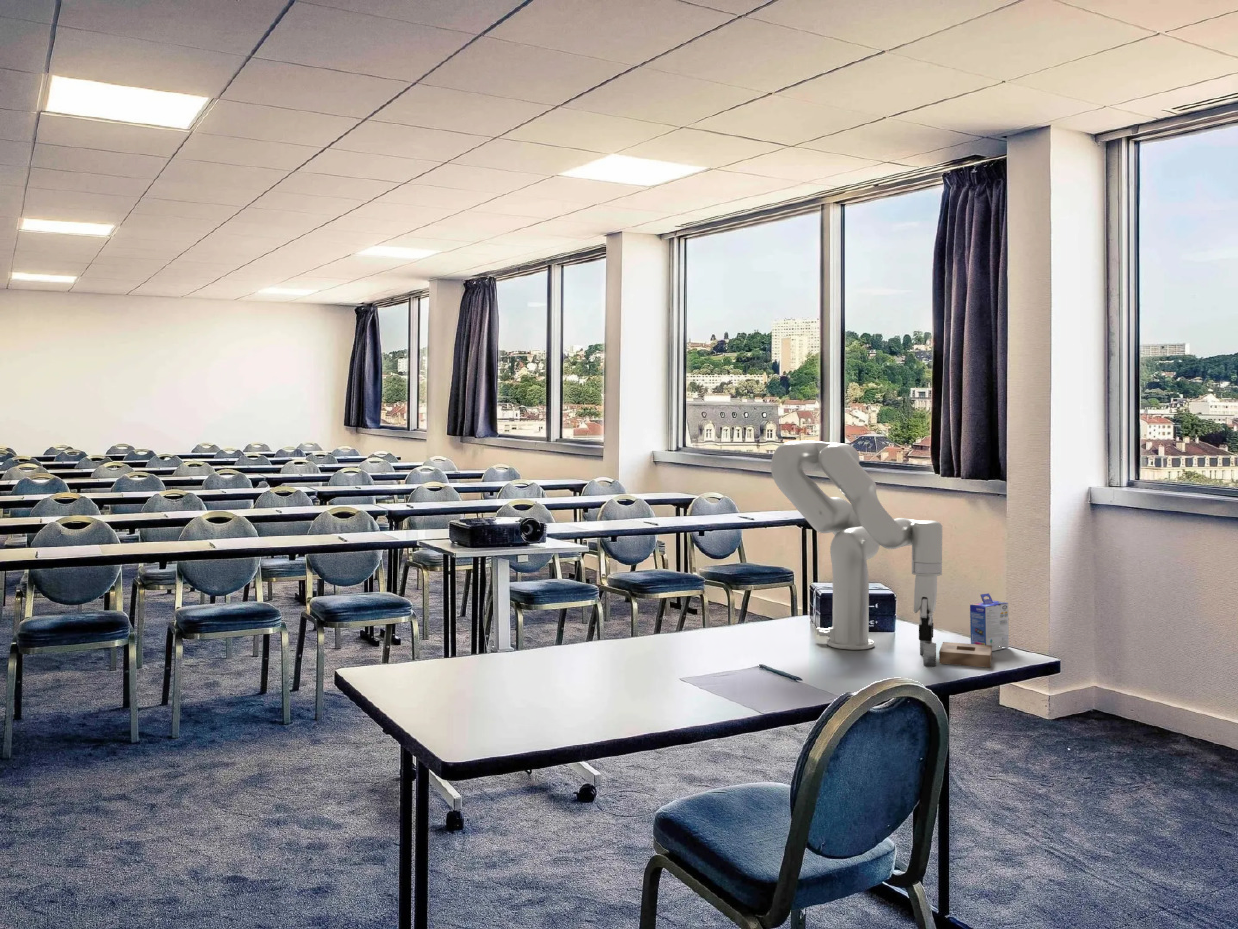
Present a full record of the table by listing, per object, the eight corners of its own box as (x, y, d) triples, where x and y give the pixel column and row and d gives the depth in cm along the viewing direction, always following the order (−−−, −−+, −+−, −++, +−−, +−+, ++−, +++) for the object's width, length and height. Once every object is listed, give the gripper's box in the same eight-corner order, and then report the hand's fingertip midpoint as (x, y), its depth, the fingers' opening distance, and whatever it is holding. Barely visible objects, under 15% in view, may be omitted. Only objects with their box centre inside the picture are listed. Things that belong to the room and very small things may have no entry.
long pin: (919, 655, 267) (919, 609, 267) (920, 652, 270) (920, 607, 270) (931, 656, 266) (931, 610, 266) (932, 653, 269) (932, 608, 269)
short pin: (922, 666, 256) (923, 644, 255) (923, 663, 258) (924, 641, 258) (935, 667, 254) (935, 645, 254) (936, 664, 257) (936, 642, 257)
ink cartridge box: (991, 644, 280) (992, 591, 279) (1009, 648, 275) (1010, 594, 275) (968, 649, 274) (969, 595, 274) (986, 653, 270) (987, 598, 269)
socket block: (939, 663, 258) (939, 651, 258) (942, 653, 270) (943, 641, 269) (990, 667, 254) (990, 655, 254) (991, 657, 265) (991, 645, 265)
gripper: (915, 563, 276) (914, 632, 277) (908, 572, 261) (907, 644, 262) (944, 565, 274) (943, 634, 274) (939, 573, 258) (938, 646, 259)
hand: (926, 638), depth 268 cm, fingers open, 3 cm apart
